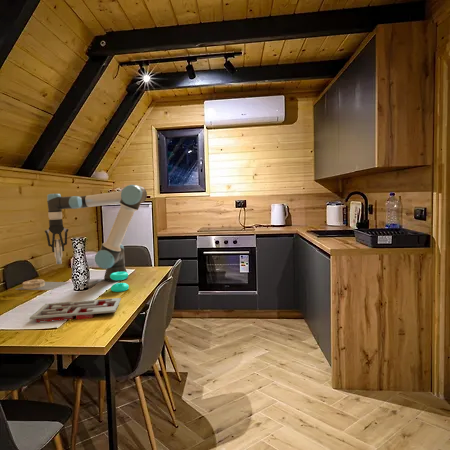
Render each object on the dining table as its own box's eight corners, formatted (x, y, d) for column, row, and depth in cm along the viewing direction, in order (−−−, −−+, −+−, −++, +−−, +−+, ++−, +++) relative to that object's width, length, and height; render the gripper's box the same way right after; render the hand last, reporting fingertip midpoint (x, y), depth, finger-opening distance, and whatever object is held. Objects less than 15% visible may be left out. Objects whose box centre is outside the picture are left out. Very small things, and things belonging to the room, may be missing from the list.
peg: (62, 263, 211) (61, 239, 210) (59, 264, 208) (57, 239, 207) (58, 263, 212) (56, 239, 210) (55, 264, 209) (53, 239, 207)
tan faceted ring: (48, 284, 209) (48, 279, 209) (35, 288, 199) (35, 283, 198) (32, 284, 211) (32, 279, 211) (19, 288, 201) (18, 283, 200)
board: (70, 284, 213) (70, 282, 213) (51, 292, 195) (51, 289, 195) (37, 284, 217) (36, 281, 217) (15, 291, 200) (14, 289, 199)
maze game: (30, 324, 144) (29, 317, 144) (46, 310, 164) (45, 303, 164) (115, 317, 150) (114, 310, 150) (121, 304, 169) (120, 297, 169)
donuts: (115, 271, 200) (131, 271, 198) (116, 287, 201) (132, 288, 199) (106, 274, 190) (122, 275, 188) (107, 292, 191) (123, 292, 189)
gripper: (69, 218, 215) (72, 254, 217) (40, 219, 207) (43, 257, 209) (70, 218, 208) (73, 256, 210) (41, 220, 200) (44, 259, 202)
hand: (58, 256), depth 209 cm, fingers closed on peg, 3 cm apart
